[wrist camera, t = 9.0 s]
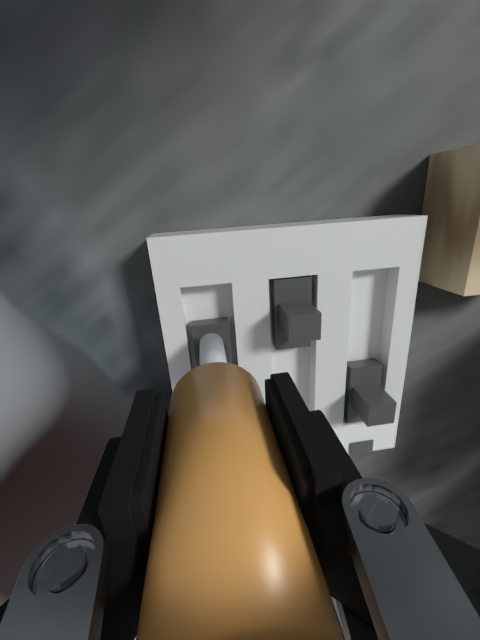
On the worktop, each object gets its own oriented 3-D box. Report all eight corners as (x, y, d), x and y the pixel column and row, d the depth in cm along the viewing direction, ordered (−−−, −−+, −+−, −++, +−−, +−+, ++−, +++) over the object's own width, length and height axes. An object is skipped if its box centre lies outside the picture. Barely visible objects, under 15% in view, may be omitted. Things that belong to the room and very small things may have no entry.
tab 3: (344, 361, 19) (367, 386, 16) (375, 357, 19) (402, 381, 17) (341, 414, 20) (362, 445, 18) (369, 410, 21) (394, 440, 18)
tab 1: (191, 320, 17) (190, 341, 14) (227, 316, 17) (232, 337, 14) (199, 383, 18) (199, 412, 16) (233, 379, 18) (238, 407, 16)
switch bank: (153, 233, 17) (145, 238, 14) (397, 214, 18) (430, 215, 15) (188, 450, 22) (187, 481, 19) (374, 423, 23) (396, 449, 21)
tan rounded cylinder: (175, 317, 15) (101, 657, 4) (240, 310, 15) (361, 605, 4) (183, 375, 16) (148, 772, 5) (244, 367, 16) (347, 724, 5)
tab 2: (270, 276, 17) (284, 290, 14) (306, 273, 17) (326, 285, 14) (272, 344, 18) (285, 367, 15) (305, 340, 18) (324, 362, 16)
